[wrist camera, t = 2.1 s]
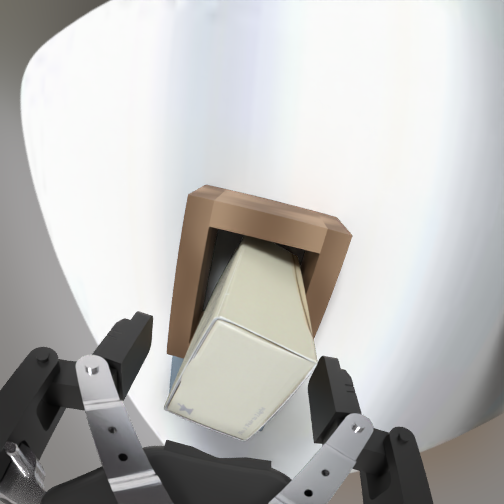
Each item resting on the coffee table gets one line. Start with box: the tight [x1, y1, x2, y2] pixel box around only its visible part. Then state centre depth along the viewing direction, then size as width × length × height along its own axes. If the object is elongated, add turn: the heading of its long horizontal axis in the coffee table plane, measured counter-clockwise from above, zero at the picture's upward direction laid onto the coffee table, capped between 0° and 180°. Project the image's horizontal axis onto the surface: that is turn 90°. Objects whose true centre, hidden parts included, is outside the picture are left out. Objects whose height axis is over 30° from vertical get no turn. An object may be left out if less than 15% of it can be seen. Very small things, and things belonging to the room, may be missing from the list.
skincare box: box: [164, 235, 318, 441], centre depth 17 cm, size 6×4×12 cm
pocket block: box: [167, 185, 352, 359], centre depth 20 cm, size 9×11×4 cm
